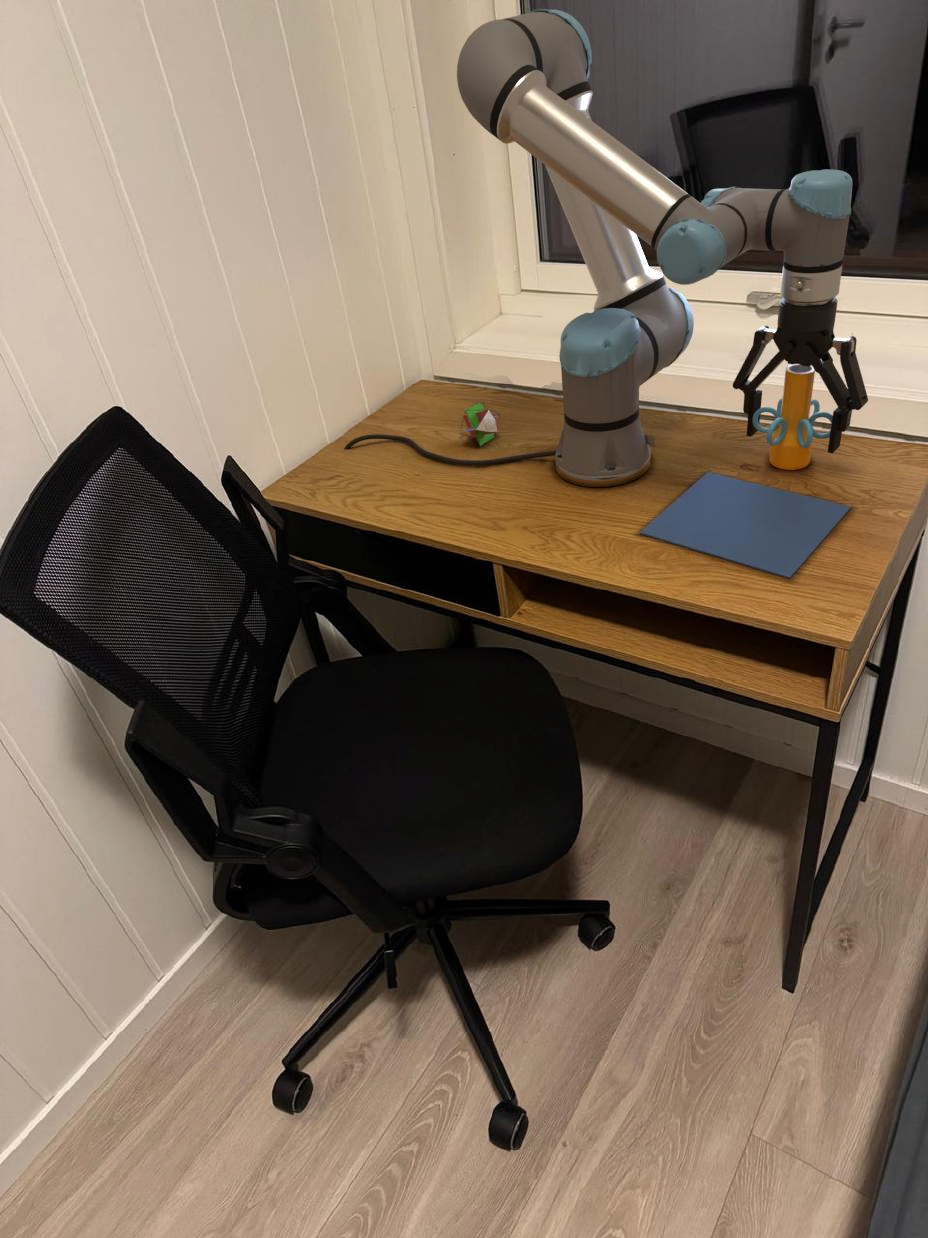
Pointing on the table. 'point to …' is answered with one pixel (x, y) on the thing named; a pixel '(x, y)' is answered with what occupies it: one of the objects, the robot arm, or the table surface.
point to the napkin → (747, 523)
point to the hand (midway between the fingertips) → (791, 440)
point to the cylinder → (793, 420)
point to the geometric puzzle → (480, 423)
